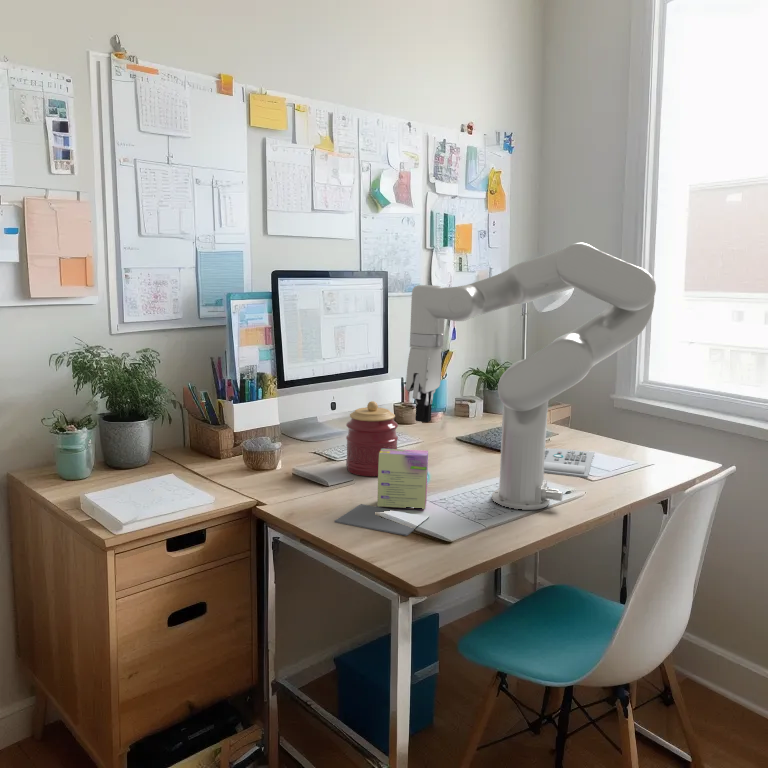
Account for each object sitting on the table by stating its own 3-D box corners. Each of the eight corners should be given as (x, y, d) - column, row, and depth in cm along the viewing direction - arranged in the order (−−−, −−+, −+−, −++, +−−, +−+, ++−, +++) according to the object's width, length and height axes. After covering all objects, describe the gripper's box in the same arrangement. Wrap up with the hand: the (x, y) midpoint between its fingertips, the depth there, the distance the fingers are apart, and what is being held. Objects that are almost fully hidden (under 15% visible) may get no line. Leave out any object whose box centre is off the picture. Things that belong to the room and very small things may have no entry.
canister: (346, 477, 177) (346, 406, 174) (345, 462, 190) (345, 396, 187) (399, 477, 178) (400, 406, 175) (395, 462, 190) (396, 396, 188)
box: (426, 502, 160) (428, 449, 158) (425, 509, 154) (427, 455, 153) (379, 500, 161) (380, 447, 159) (377, 507, 155) (378, 453, 154)
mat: (429, 517, 150) (429, 516, 150) (406, 535, 140) (406, 534, 140) (360, 505, 157) (361, 503, 157) (334, 522, 147) (334, 520, 147)
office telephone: (589, 470, 179) (508, 462, 186) (588, 481, 180) (507, 471, 186) (595, 447, 201) (522, 440, 207) (594, 456, 201) (521, 449, 208)
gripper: (424, 336, 170) (420, 413, 174) (397, 342, 157) (394, 425, 160) (454, 339, 167) (450, 417, 170) (429, 345, 154) (425, 430, 157)
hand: (423, 421), depth 165 cm, fingers closed
